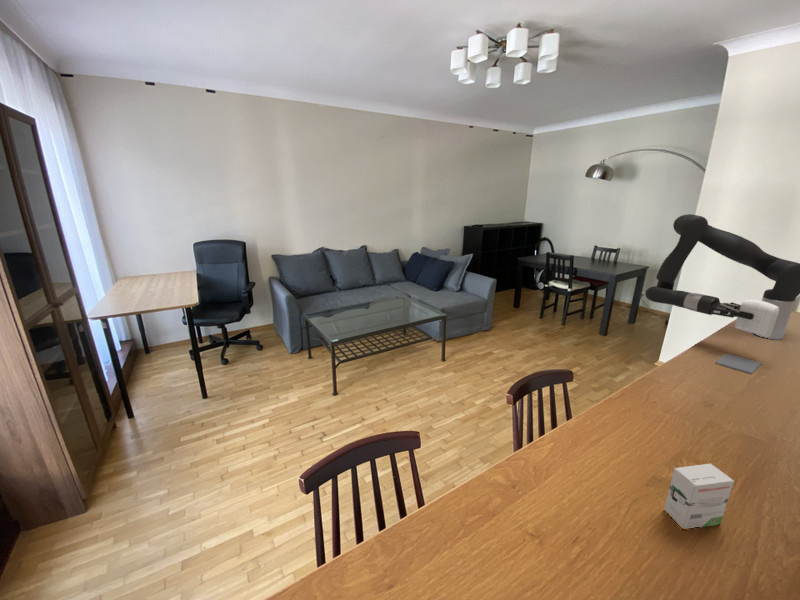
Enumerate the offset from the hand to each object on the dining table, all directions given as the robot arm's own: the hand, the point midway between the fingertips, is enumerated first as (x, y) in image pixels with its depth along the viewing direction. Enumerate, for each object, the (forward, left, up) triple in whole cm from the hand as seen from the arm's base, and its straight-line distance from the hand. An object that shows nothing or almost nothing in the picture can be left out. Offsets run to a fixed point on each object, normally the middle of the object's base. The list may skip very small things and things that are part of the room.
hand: (755, 315), depth 125 cm
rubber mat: (+8, 0, -18) cm, 19 cm away
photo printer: (0, 0, -7) cm, 7 cm away
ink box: (+97, +15, -18) cm, 99 cm away
